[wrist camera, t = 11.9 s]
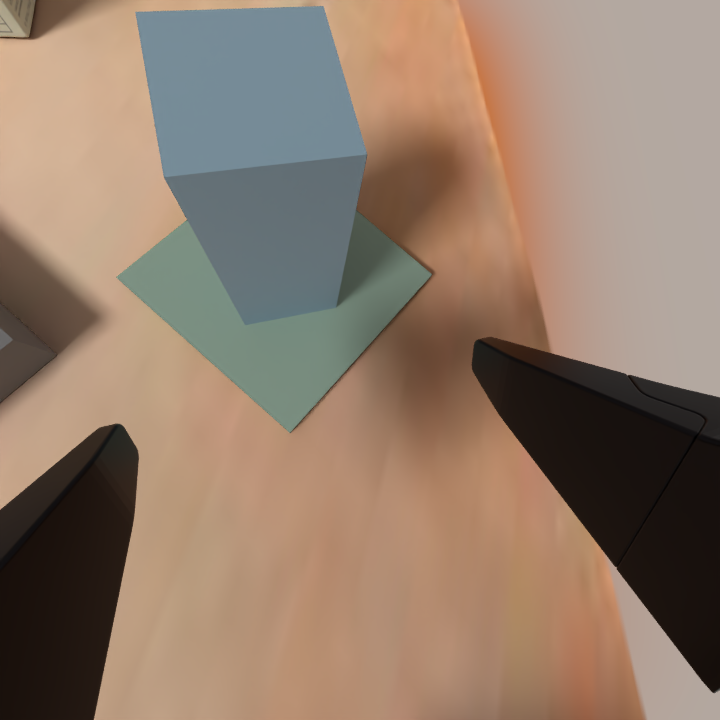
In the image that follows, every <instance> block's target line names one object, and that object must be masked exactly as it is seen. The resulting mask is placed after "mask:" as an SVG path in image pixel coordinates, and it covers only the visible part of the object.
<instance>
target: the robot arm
mask: <svg viewBox="0 0 720 720" xmlns="http://www.w3.org/2000/svg"><path fill="white" fill-rule="evenodd" d="M472 370H473V372H474V374H475V376H476V378H477V379H478V381H479V383H480V384H481V386H482V388H483V389H484V391H485V393H486V394H487V396H488V398H489V399H490V401H491V403H492V404H493V406H494V407H495V409H496V411H497V412H498V414H499V415H500V417H501V418H502V419H503V421H504V422H505V423H506V425H507V426H508V427H509V429H510V430H511V431H512V433H513V434H514V435H515V436H516V438H517V439H518V440H519V442H520V443H521V444H522V446H523V447H524V448H525V450H526V451H527V452H528V453H529V455H530V456H531V457H532V459H533V460H534V461H535V463H536V464H537V465H538V467H539V468H540V469H541V470H542V472H543V473H544V474H545V476H546V477H547V478H548V480H549V481H550V482H551V484H552V485H553V486H554V487H555V489H556V490H557V491H558V493H559V494H560V495H561V497H562V498H563V499H564V501H565V502H566V503H567V504H568V506H569V507H570V508H571V510H572V511H573V512H574V514H575V515H576V516H577V518H578V519H579V520H580V521H581V523H582V524H583V525H584V527H585V528H586V529H587V531H588V532H589V533H590V535H591V536H592V537H593V538H594V540H595V541H596V542H597V544H598V545H599V546H600V548H601V549H602V550H603V552H604V553H605V554H606V555H607V557H608V558H609V559H610V561H611V562H612V563H613V565H614V566H615V567H617V570H618V572H619V573H620V574H621V575H622V577H623V578H624V579H625V581H626V582H627V583H628V585H629V586H630V587H631V588H632V590H633V591H634V592H635V594H636V595H637V596H638V598H639V599H640V600H641V602H642V603H643V604H644V606H645V607H646V608H647V609H648V611H649V612H650V613H651V615H652V616H653V617H654V619H655V620H656V621H657V623H658V624H659V625H660V626H661V628H662V629H663V630H664V632H665V633H666V634H667V636H668V637H669V638H670V640H671V641H672V642H673V643H674V645H675V646H676V647H677V649H678V650H679V651H680V653H681V654H682V655H683V656H684V658H685V659H686V660H687V662H688V663H689V664H690V666H691V667H692V668H693V670H694V671H695V672H696V674H697V675H698V676H699V677H700V679H701V680H702V681H703V682H704V684H705V685H706V686H707V687H708V688H709V689H710V690H711V691H712V692H713V693H716V692H717V691H719V690H720V397H716V396H712V395H707V394H703V393H699V392H694V391H690V390H686V389H681V388H678V387H673V386H669V385H666V384H662V383H658V382H654V381H650V380H646V379H643V378H639V377H636V376H632V375H628V376H627V375H626V374H624V373H621V372H617V371H613V370H610V369H606V368H603V367H599V366H595V365H592V364H588V363H584V362H581V361H577V360H573V359H569V358H566V357H562V356H559V355H555V354H552V353H548V352H544V351H541V350H537V349H533V348H530V347H526V346H522V345H519V344H515V343H511V342H508V341H504V340H501V339H497V338H493V337H486V338H482V339H478V340H476V341H475V343H474V349H473V358H472ZM138 461H139V454H138V450H137V448H136V446H135V444H134V443H133V441H132V439H131V438H130V436H129V434H128V433H127V431H126V429H125V428H124V427H123V426H122V425H121V424H112V425H108V426H104V427H100V428H98V429H97V430H96V431H95V432H93V433H92V434H91V435H90V436H88V437H87V438H86V439H85V440H84V441H82V442H81V443H80V444H79V445H78V446H76V447H75V448H74V449H73V450H72V451H70V452H69V453H68V454H67V455H66V456H64V457H63V458H62V459H61V460H60V461H58V462H57V463H56V464H55V465H54V466H52V467H51V468H50V469H49V470H48V471H46V472H45V473H44V474H43V475H42V476H40V477H39V478H38V479H37V480H36V481H34V482H33V483H32V484H31V485H30V486H28V487H27V488H26V489H25V490H24V491H22V492H21V493H20V494H19V495H18V496H16V497H15V498H14V499H13V500H12V501H10V502H9V503H8V504H7V505H6V506H4V507H3V508H2V509H1V510H0V720H94V716H95V711H96V706H97V701H98V696H99V691H100V686H101V681H102V676H103V671H104V666H105V662H106V657H107V652H108V647H109V642H110V637H111V632H112V627H113V622H114V617H115V612H116V607H117V602H118V597H119V592H120V587H121V582H122V577H123V572H124V567H125V562H126V557H127V552H128V547H129V542H130V537H131V532H132V527H133V521H134V514H135V503H136V489H137V475H138Z"/></svg>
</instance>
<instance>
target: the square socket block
mask: <svg viewBox="0 0 720 720" xmlns="http://www.w3.org/2000/svg"><path fill="white" fill-rule="evenodd" d="M56 355H57V354H56V353H55V352H53V351H52V350H51V349H50V348H49V347H48V346H47V345H46V344H45V343H44V342H43V341H41V340H40V339H39V338H38V337H37V336H36V335H35V334H34V333H33V332H32V331H31V330H29V329H28V328H27V327H26V326H25V325H24V324H23V323H22V322H21V321H20V320H19V319H17V318H16V317H15V316H14V315H13V314H12V313H11V312H10V311H9V310H8V309H7V308H5V307H4V306H3V305H2V304H1V303H0V402H1V401H2V400H4V399H5V398H6V397H7V396H8V395H10V394H11V393H12V392H13V391H14V390H16V389H17V388H18V387H19V386H20V385H22V384H23V383H24V382H25V381H26V380H28V379H29V378H30V377H31V376H32V375H34V374H35V373H36V372H37V371H38V370H40V369H41V368H42V367H43V366H44V365H46V364H47V363H48V362H49V361H50V360H52V359H53V358H54V357H55V356H56Z"/></svg>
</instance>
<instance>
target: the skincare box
mask: <svg viewBox="0 0 720 720" xmlns="http://www.w3.org/2000/svg"><path fill="white" fill-rule="evenodd" d="M34 6H35V0H0V37H29V35H30V29H31V24H32V18H33V13H34Z"/></svg>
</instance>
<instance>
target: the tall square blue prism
mask: <svg viewBox="0 0 720 720" xmlns="http://www.w3.org/2000/svg"><path fill="white" fill-rule="evenodd" d="M136 18H137V24H138V30H139V35H140V41H141V47H142V53H143V59H144V64H145V70H146V76H147V82H148V88H149V93H150V99H151V105H152V111H153V117H154V122H155V128H156V134H157V140H158V146H159V151H160V157H161V163H162V169H163V175H164V178H165V180H166V182H167V184H168V186H169V187H170V189H171V191H172V193H173V195H174V196H175V198H176V200H177V202H178V204H179V206H180V207H181V209H182V211H183V213H184V215H185V217H186V218H187V220H188V222H189V224H190V226H191V227H192V229H193V231H194V233H195V235H196V237H197V238H198V240H199V242H200V244H201V246H202V248H203V249H204V251H205V253H206V255H207V257H208V258H209V260H210V262H211V264H212V266H213V268H214V269H215V271H216V273H217V275H218V277H219V279H220V280H221V282H222V284H223V286H224V288H225V289H226V291H227V293H228V295H229V297H230V299H231V300H232V302H233V304H234V306H235V308H236V310H237V311H238V313H239V315H240V317H241V319H242V320H243V322H244V324H245V325H249V324H254V323H259V322H265V321H270V320H275V319H280V318H285V317H291V316H296V315H301V314H306V313H311V312H317V311H322V310H327V309H332V308H336V305H337V300H338V295H339V291H340V286H341V281H342V276H343V271H344V266H345V261H346V256H347V251H348V246H349V241H350V237H351V232H352V227H353V222H354V217H355V212H356V207H357V202H358V197H359V192H360V187H361V183H362V178H363V173H364V168H365V163H366V158H367V152H366V149H365V145H364V142H363V138H362V135H361V132H360V128H359V125H358V121H357V118H356V115H355V111H354V108H353V105H352V101H351V98H350V94H349V91H348V88H347V84H346V81H345V78H344V74H343V71H342V67H341V64H340V61H339V57H338V54H337V50H336V47H335V44H334V40H333V37H332V34H331V30H330V27H329V23H328V20H327V17H326V13H325V10H324V7H323V6H314V7H281V8H249V9H217V10H185V11H153V12H136Z"/></svg>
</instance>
